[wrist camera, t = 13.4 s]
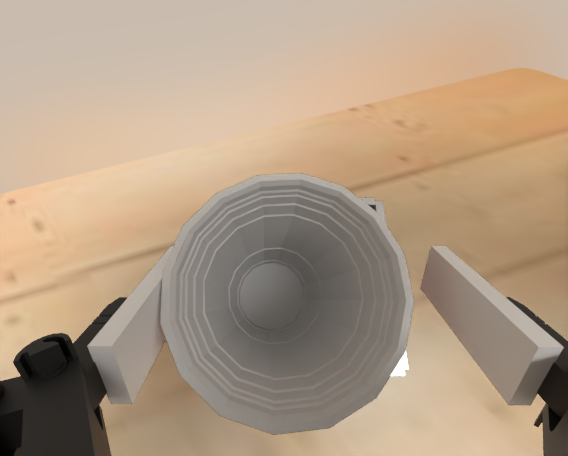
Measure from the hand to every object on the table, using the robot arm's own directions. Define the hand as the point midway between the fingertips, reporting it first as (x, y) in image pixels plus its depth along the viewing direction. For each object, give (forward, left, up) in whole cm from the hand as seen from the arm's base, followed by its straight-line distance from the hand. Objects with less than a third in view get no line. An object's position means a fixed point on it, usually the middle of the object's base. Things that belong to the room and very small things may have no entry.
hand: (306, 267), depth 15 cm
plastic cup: (+3, 0, -9) cm, 9 cm away
